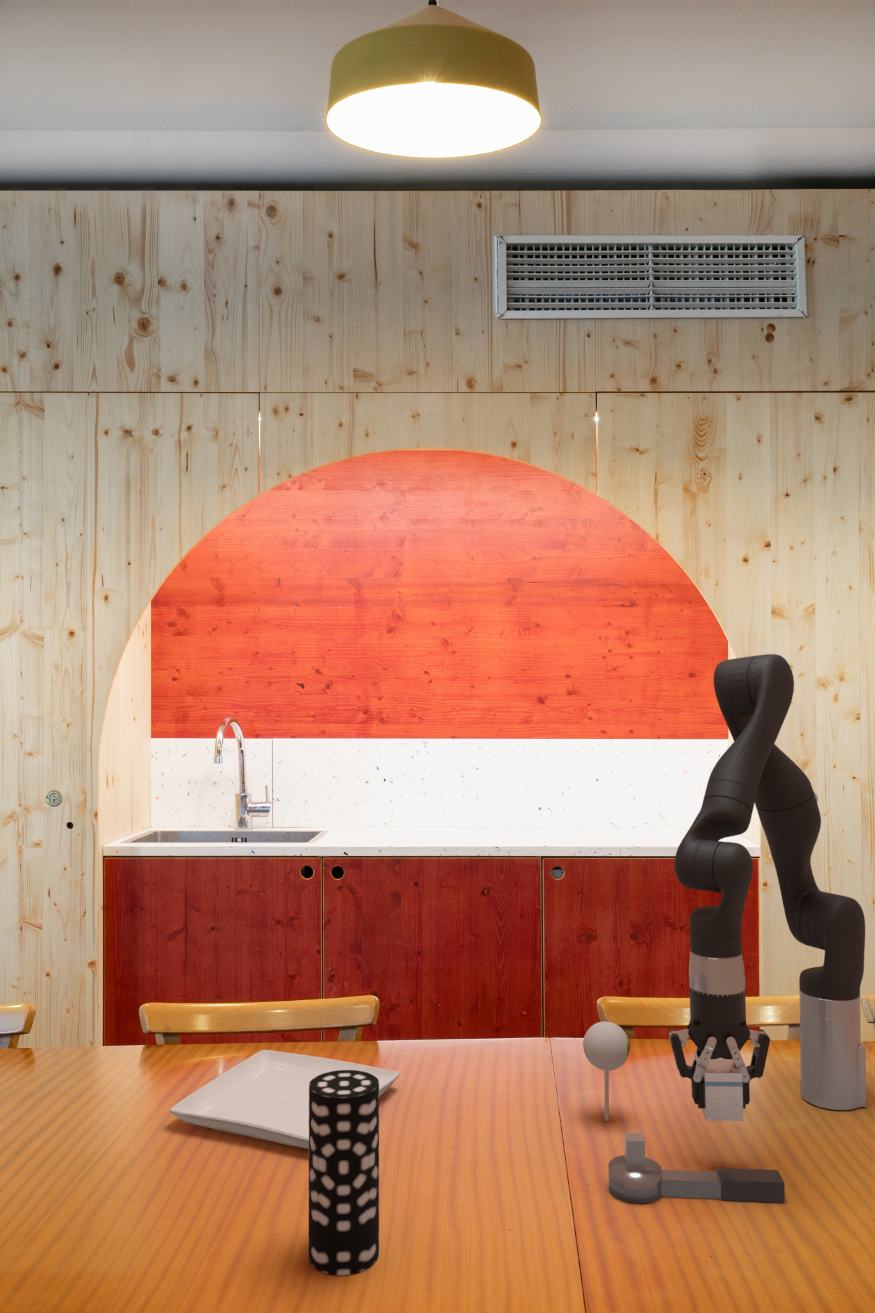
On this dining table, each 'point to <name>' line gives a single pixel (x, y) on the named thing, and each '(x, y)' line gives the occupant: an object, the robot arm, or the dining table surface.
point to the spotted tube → (343, 1171)
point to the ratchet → (686, 1180)
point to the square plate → (267, 1096)
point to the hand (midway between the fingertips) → (720, 1106)
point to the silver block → (722, 1091)
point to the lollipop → (606, 1051)
